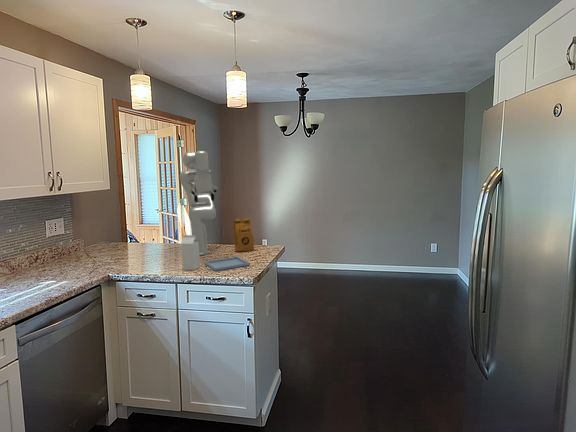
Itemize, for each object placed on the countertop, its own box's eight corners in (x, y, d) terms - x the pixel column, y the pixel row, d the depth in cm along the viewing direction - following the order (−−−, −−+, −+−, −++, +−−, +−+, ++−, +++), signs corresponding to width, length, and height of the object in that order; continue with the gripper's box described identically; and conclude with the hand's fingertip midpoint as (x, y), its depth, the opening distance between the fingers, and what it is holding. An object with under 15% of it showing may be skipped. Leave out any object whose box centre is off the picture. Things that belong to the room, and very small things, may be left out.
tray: (205, 264, 228) (204, 261, 228) (237, 259, 237) (237, 256, 237) (215, 271, 210) (215, 268, 210) (249, 265, 219) (249, 262, 219)
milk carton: (194, 270, 215) (192, 236, 213) (183, 270, 217) (180, 236, 214) (200, 267, 222) (197, 234, 220) (188, 267, 224) (186, 234, 221)
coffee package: (255, 251, 259) (253, 218, 257) (236, 253, 256) (234, 219, 253) (252, 248, 269) (250, 216, 266) (234, 250, 265) (232, 218, 263)
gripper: (214, 172, 238) (216, 200, 239) (186, 173, 229) (188, 202, 231) (218, 171, 231) (220, 200, 233) (189, 173, 223) (191, 202, 225)
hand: (204, 201), depth 232 cm, fingers open, 9 cm apart
